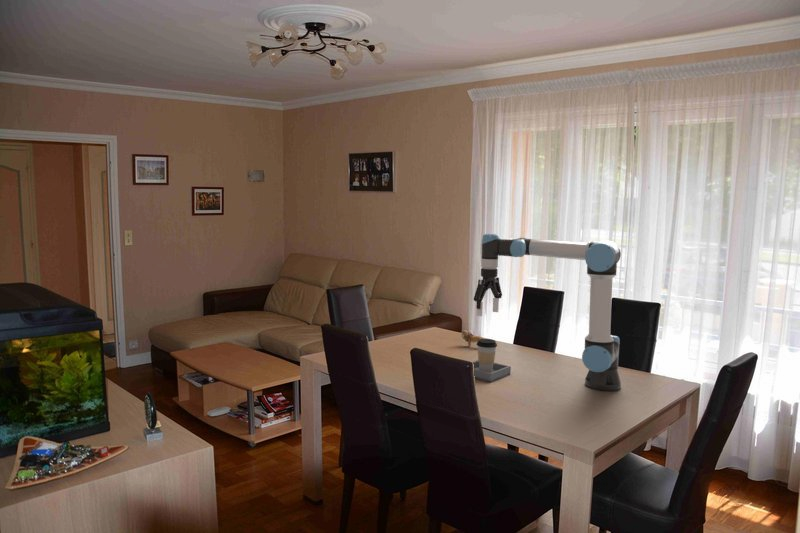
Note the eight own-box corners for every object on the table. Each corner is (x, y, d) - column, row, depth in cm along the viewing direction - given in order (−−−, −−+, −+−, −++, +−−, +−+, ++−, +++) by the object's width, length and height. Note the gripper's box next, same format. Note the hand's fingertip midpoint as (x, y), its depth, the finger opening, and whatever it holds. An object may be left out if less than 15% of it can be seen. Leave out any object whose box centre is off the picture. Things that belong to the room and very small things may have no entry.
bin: (510, 374, 281) (510, 366, 281) (490, 382, 269) (490, 373, 268) (479, 367, 292) (480, 359, 292) (459, 374, 280) (459, 366, 279)
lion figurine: (459, 347, 331) (460, 331, 330) (462, 345, 336) (463, 329, 335) (485, 350, 325) (486, 334, 324) (488, 348, 330) (489, 332, 329)
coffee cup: (495, 370, 285) (496, 338, 283) (496, 375, 275) (497, 343, 274) (475, 368, 286) (476, 337, 284) (475, 374, 276) (476, 342, 275)
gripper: (496, 265, 286) (495, 309, 289) (466, 269, 268) (465, 316, 270) (510, 266, 282) (508, 311, 284) (481, 270, 263) (479, 318, 265)
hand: (487, 313), depth 277 cm, fingers open, 13 cm apart
